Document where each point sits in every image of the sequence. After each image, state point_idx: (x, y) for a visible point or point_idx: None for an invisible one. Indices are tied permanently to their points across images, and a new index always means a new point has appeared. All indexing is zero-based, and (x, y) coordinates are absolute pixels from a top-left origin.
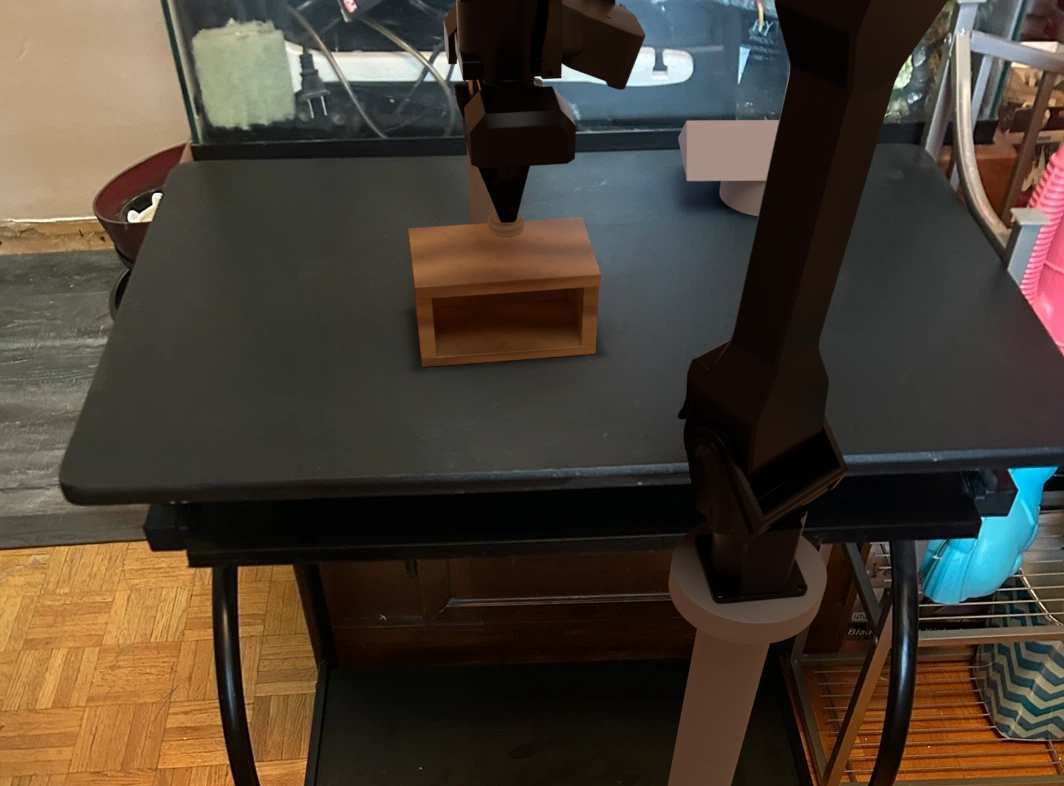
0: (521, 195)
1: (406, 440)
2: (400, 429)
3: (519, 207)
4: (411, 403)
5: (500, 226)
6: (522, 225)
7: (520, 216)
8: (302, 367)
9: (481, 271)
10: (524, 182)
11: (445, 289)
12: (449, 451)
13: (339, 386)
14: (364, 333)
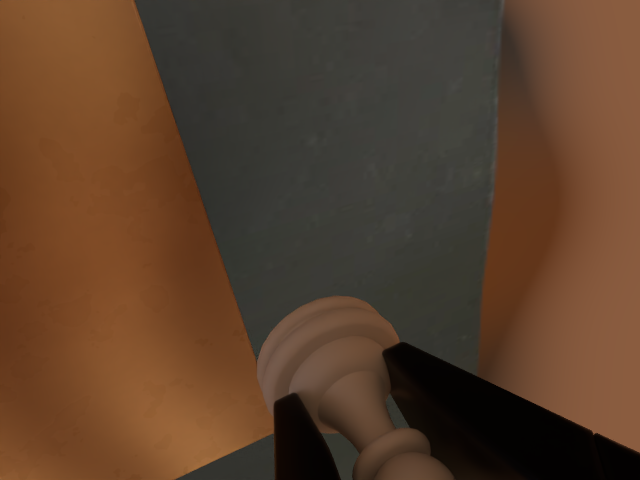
0: (508, 394)
1: (414, 257)
2: (387, 274)
3: (453, 365)
4: (320, 284)
5: None
6: (363, 309)
7: (325, 339)
8: (237, 462)
9: (177, 329)
10: (584, 428)
11: None
12: (443, 186)
13: None
14: None
